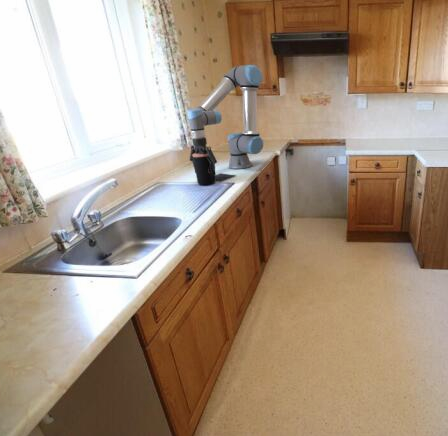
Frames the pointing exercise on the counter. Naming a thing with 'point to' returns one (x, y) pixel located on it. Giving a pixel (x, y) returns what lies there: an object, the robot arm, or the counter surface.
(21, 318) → the counter surface
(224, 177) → the mat
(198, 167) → the coffee jar
